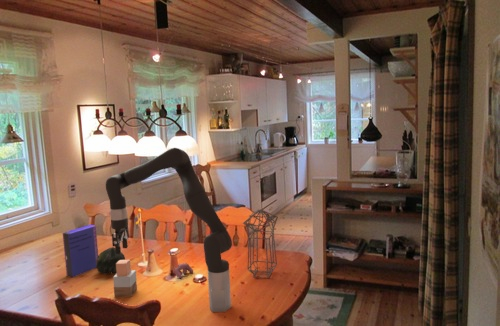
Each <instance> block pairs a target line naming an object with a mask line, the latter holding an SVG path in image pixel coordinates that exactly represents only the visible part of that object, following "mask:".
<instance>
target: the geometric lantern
mask: <svg viewBox="0 0 500 326" xmlns="http://www.w3.org/2000/svg"><path fill="white" fill-rule="evenodd" d="M270 215H271V216H270ZM252 218H255V220H254V221H253V223H251V220H252ZM263 219H265V221H263ZM257 220H258V224H255V223H256V221H257ZM277 221H278V216H277V215H274V214H272V213H270V212H268V211H265V210H264V209H262V208H260V209H257V210H255V211H254V212H253V213H251V214H250V215H248V218H247V219H246V220H245V221H242V224H243V225H245V226H246V232H247V238H248V247H247V249H248V251H247V271H249V272H250V273H251V274H253V275H252V278H255V279H270V278H271V274H272V273H273V271H274V270H275V268H276V267H277V265H278V261H277V251H276V243H275V242H276V241H275V226H276V224H277ZM262 223H263V224H262ZM254 227H257V228H256V229H254ZM260 227H261V228H260ZM268 227H269V228H270V230H271V231H270V230H267V231H266V230H264V229H266V228H268ZM249 228H250V229H251V230H252V231H251V232H250V233H249ZM258 232H260V234H261V235H262V236H263V238H262V237H258V236H259V235H258ZM263 232H264V233H270V235H269V237H267V238H266V237H265V235H264V234H263ZM255 233H256V237H255ZM251 239H252V240H251ZM255 239H256V260H254V258H255V256H254V255H255ZM259 240H265V255H266V260H265V261H264V260H263V261H262V260H258V259H259V258H258V254H259V252H258V250H259V248H258V247H259V244H258V241H259ZM267 240H268V244H267ZM268 245H269V256H270V261H269V260H268ZM271 246H272V247H271ZM274 258H275V259H274ZM255 263H256V264H258V263H266V270H259V267H258V265H255ZM269 263H270V266H269ZM273 264H274V265H273ZM252 266H254V270H253V269H252ZM256 275H259V276H256ZM260 276H261V277H260ZM262 276H263V277H262ZM264 276H266V277H264Z"/></svg>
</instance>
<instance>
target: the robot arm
mask: <svg viewBox="0 0 500 326" xmlns="http://www.w3.org/2000/svg"><path fill="white" fill-rule="evenodd" d="M166 169H173V170H175V171H176V174H177V175H178V177H179V179H180V180H181V183H182V188H183V189H182V190H183V194H184V198H185V201H186V203H187V205H188V207H189V208H190V211H191V212H192V213H193V214H194V215H195V216H197V217H198V218H199V219H200V220H202V222H204V223H205V224H206V225H207V226H208V228H209V230H210V231H211V233H209V234H207V235H206V236H205V237H204V239H203V250H204V251H203V252H204V259H205V260H204V261H205V264H206V267H207V281H208V301H209V309H210V310H211V313H226V312H227V311H228V310H230V309H231V307H232V301H231V300H232V299H231V298H232V297H231V296H232V295H231V282H230V281H231V280H230V279H231V278H230V263H229V261H228V260H226V259H222V254H223V253H225V252H228V251H229V250H230V249H232V246H233V239H232V238H231V236H230V234H229V232H228V230H227V228H226V227H225V225H224V223H223V222H222V221H221V219H220V217H219V215H218V214H217V211H216V210H215V208H214V207H213V204H212V202H211V201H210V198H209V196H208V194H207V192H206V190H205V189H204V186H203V185H202V183H201V180H200V179H199V178H198V175H197V173H196V172H195V169H194V166H193V165H192V161H191V158H190V155H188V153H187V152H186V151H184V150H183V149H180V148H177V147H172V148H169V149H167V150H166V151H164V152H162V153H161V154H159V155H158V156H156V157H154V158H152V159H150V160H148V161H146V162H144V163H141V164H139V165H137V166H134V167H131V168H130V169H127V170H126V171H123V172H121V173H118V174H115V175H112V176H109V177H108V178H107V179H106V182H105V190H106V194H107V197H108V199H109V207H110V208H109V209H110V213H109V215H110V225H111V229H113V230H114V232H113V233H111V237H112V238H111V241H112V242H111V243H112V245H111V246H112V247H114V248H115V250H116V254H121V252H122V249H128V246H129V245H128V240H129V238H130V233H129V219H128V218H129V217H128V209H127V202H126V197H125V195H123V193H122V191H121V190H122V189H124V188H126V187H129V186H132V185H134V184H138V183H139V182H143V181H145V180H147V179H149V178H150V177H152V176H153V175H154V174H156V173H157V172H159V171H162V170H166ZM121 243H122V244H121ZM121 245H122V249H121Z"/></svg>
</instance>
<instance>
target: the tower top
mask: <svg viewBox="0 0 500 326" xmlns="http://www.w3.org/2000/svg"><path fill="white" fill-rule="evenodd" d="M112 280H113V288H114V287H131V286H132V285H133V284H134V283H135V281H136V282H137V280H138V279H137V271H136V270H135V269H134V270H133V269H131V272H130V273H129V274H128V276H117V273H116V274H114V276H113V277H112Z"/></svg>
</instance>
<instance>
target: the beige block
mask: <svg viewBox="0 0 500 326" xmlns="http://www.w3.org/2000/svg"><path fill="white" fill-rule="evenodd" d="M131 270H132V268H131V259H125V260H119V261H118V262H117V263H116V271H117V273H116V274H117V276H128V274H129V273H130V272H131Z"/></svg>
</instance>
